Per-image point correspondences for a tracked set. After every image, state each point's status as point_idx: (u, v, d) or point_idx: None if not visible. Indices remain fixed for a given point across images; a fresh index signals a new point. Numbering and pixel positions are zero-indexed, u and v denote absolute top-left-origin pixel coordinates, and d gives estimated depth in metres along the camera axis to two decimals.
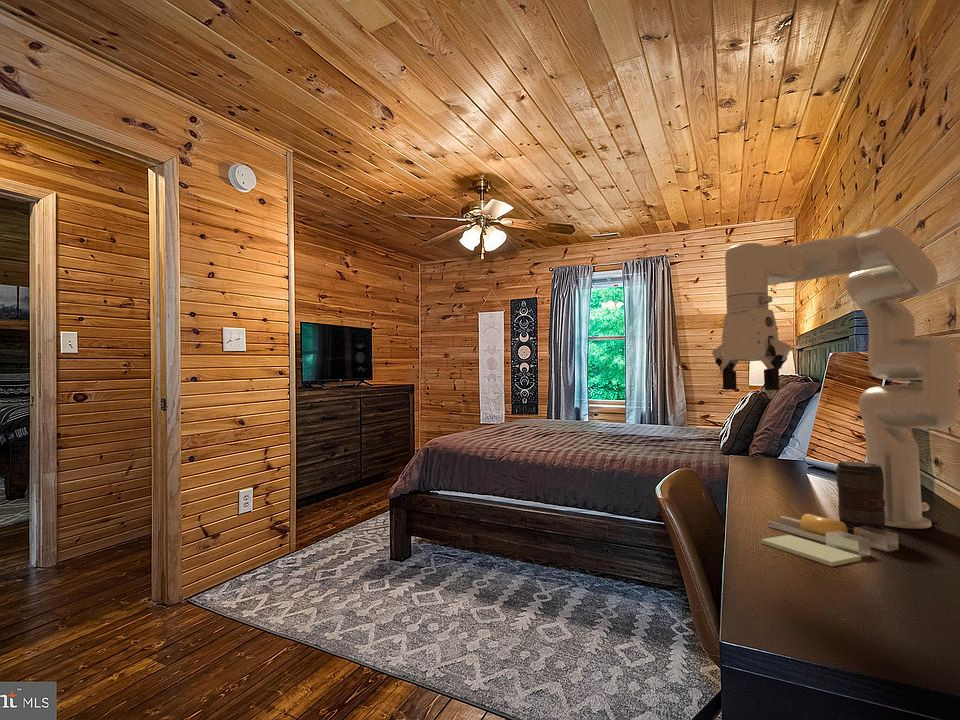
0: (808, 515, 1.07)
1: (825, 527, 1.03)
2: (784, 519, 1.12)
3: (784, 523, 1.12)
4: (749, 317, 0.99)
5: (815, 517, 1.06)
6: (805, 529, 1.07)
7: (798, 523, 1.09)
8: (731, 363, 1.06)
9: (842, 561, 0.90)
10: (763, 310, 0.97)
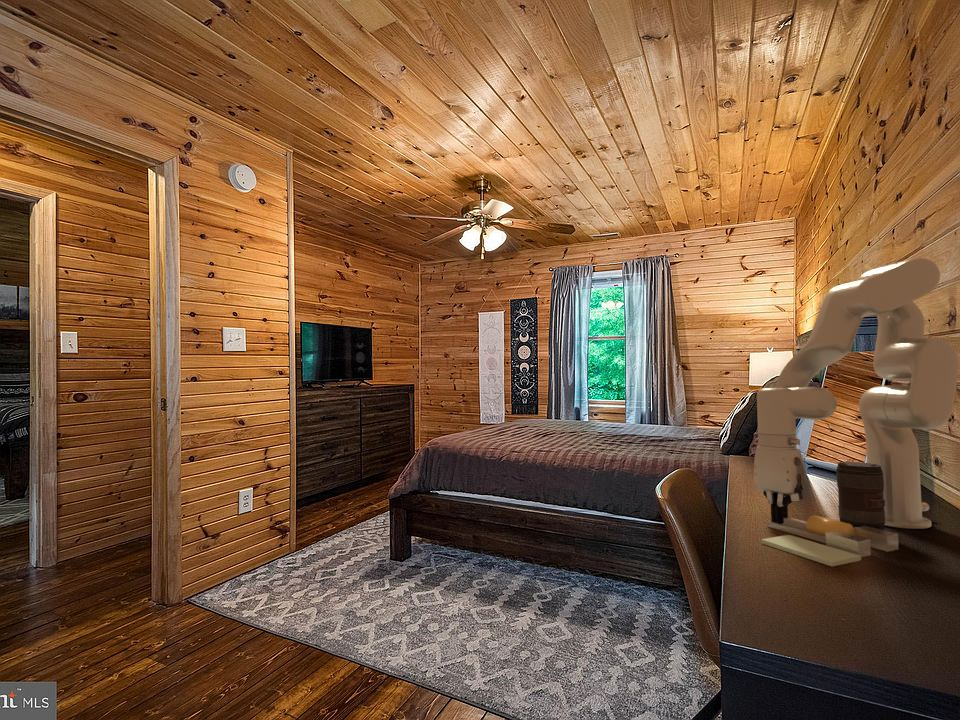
0: (814, 517, 1.06)
1: (832, 528, 1.01)
2: (789, 521, 1.11)
3: (789, 525, 1.11)
4: (779, 456, 1.12)
5: (821, 519, 1.05)
6: (811, 531, 1.05)
7: (804, 525, 1.08)
8: (775, 495, 1.16)
9: (842, 561, 0.90)
10: (792, 451, 1.10)
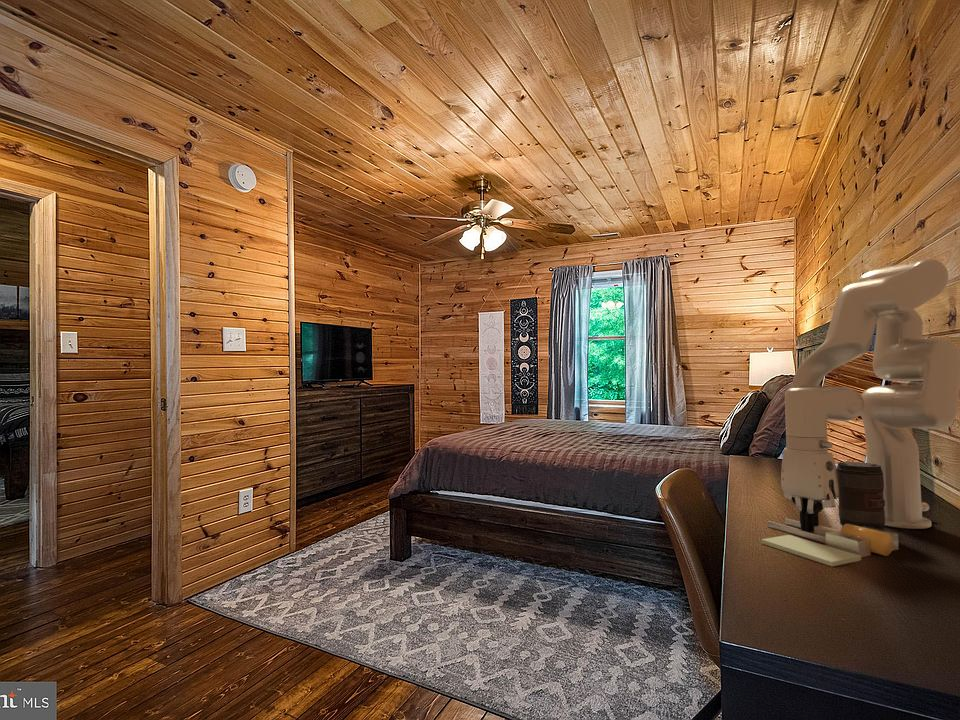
0: (848, 525, 1.00)
1: (869, 538, 0.95)
2: (821, 529, 1.04)
3: (821, 533, 1.04)
4: (810, 459, 1.05)
5: (857, 527, 0.98)
6: None
7: None
8: (804, 502, 1.09)
9: (842, 561, 0.90)
10: (824, 455, 1.04)
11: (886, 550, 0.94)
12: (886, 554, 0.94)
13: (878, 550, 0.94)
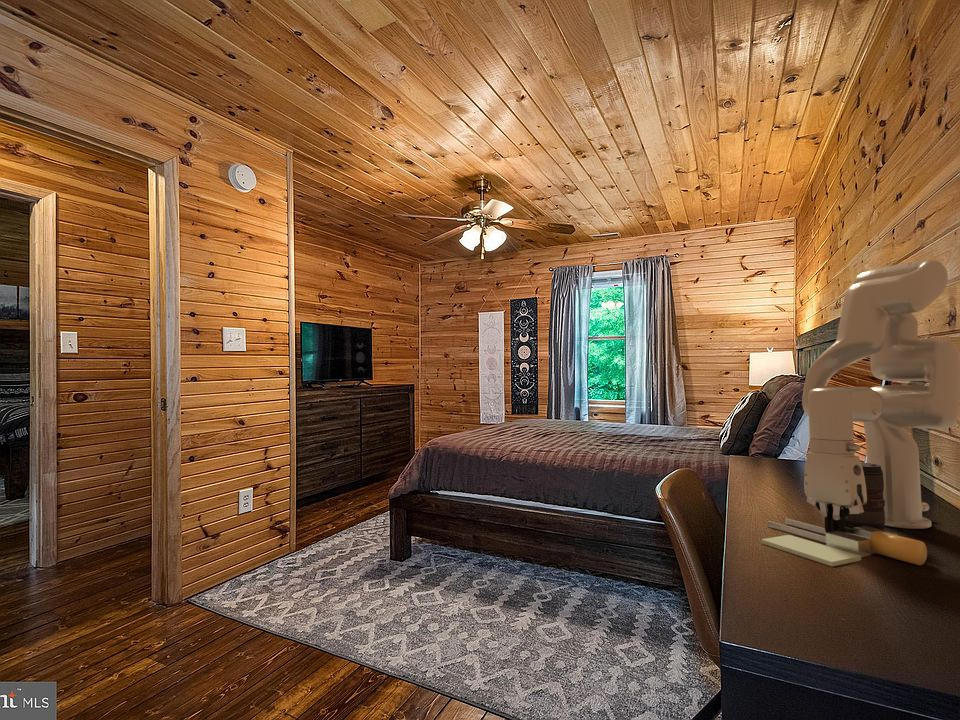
0: (878, 532, 0.95)
1: (902, 547, 0.90)
2: None
3: None
4: (836, 463, 1.00)
5: (888, 535, 0.93)
6: (876, 549, 0.94)
7: None
8: (829, 507, 1.05)
9: (842, 561, 0.90)
10: (851, 458, 0.99)
11: (920, 559, 0.89)
12: (920, 563, 0.89)
13: (912, 559, 0.89)
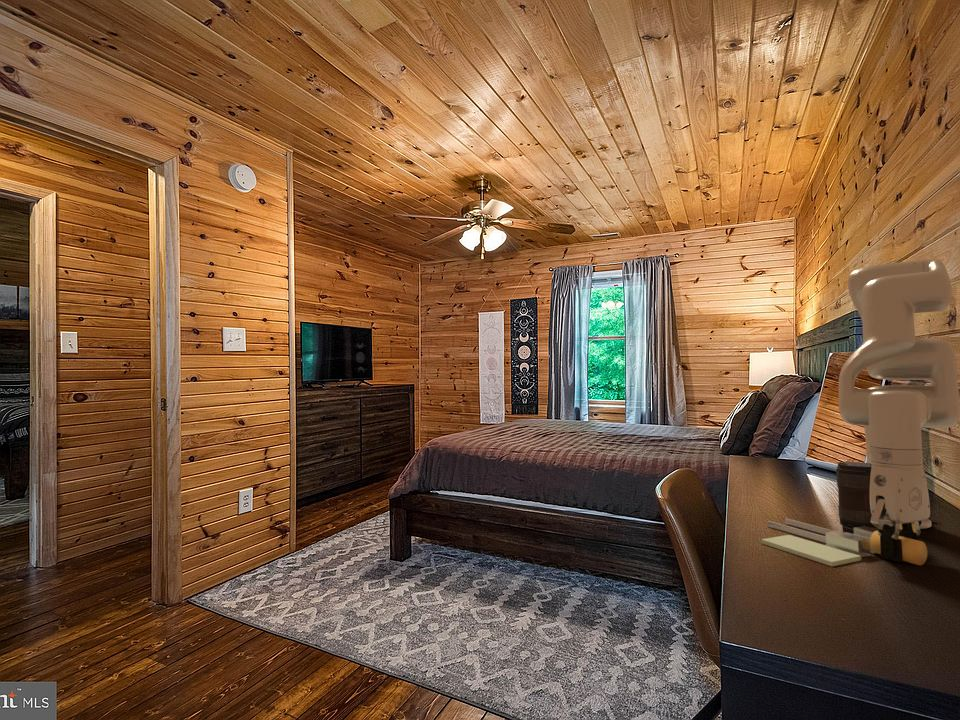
0: None
1: (902, 547, 0.90)
2: None
3: None
4: None
5: None
6: (876, 549, 0.94)
7: None
8: None
9: (842, 561, 0.90)
10: (876, 467, 0.92)
11: (920, 559, 0.89)
12: (920, 564, 0.89)
13: (912, 559, 0.89)
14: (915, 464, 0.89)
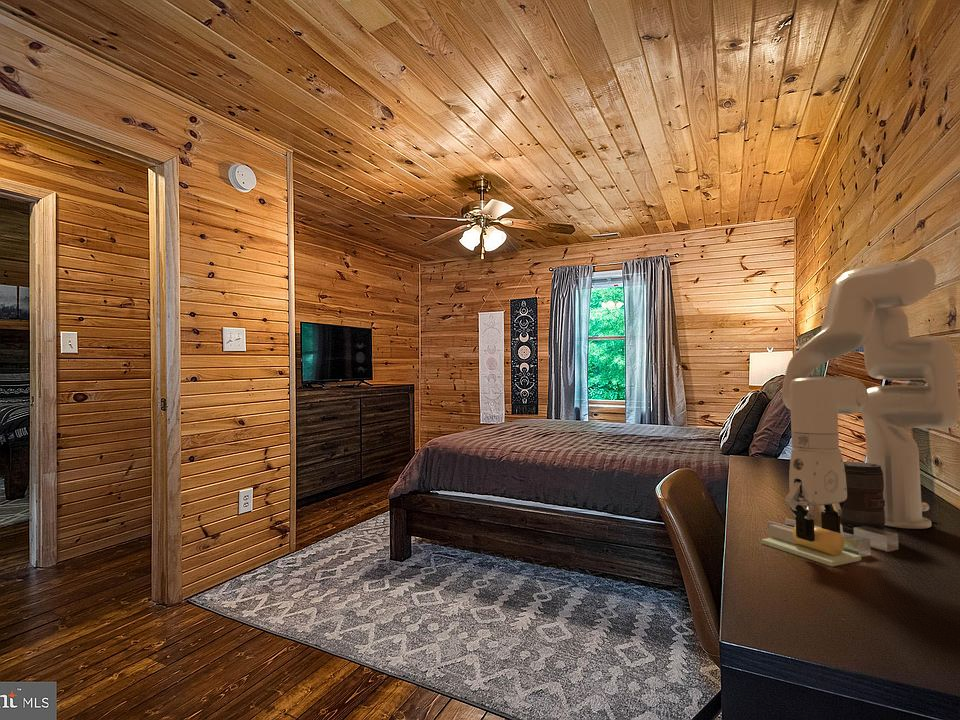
0: None
1: (820, 537, 0.93)
2: (775, 528, 1.02)
3: (775, 532, 1.02)
4: None
5: None
6: (798, 539, 0.97)
7: (790, 532, 0.99)
8: None
9: (842, 561, 0.90)
10: (795, 451, 0.95)
11: (836, 550, 0.92)
12: (836, 554, 0.92)
13: (828, 549, 0.91)
14: (830, 448, 0.92)
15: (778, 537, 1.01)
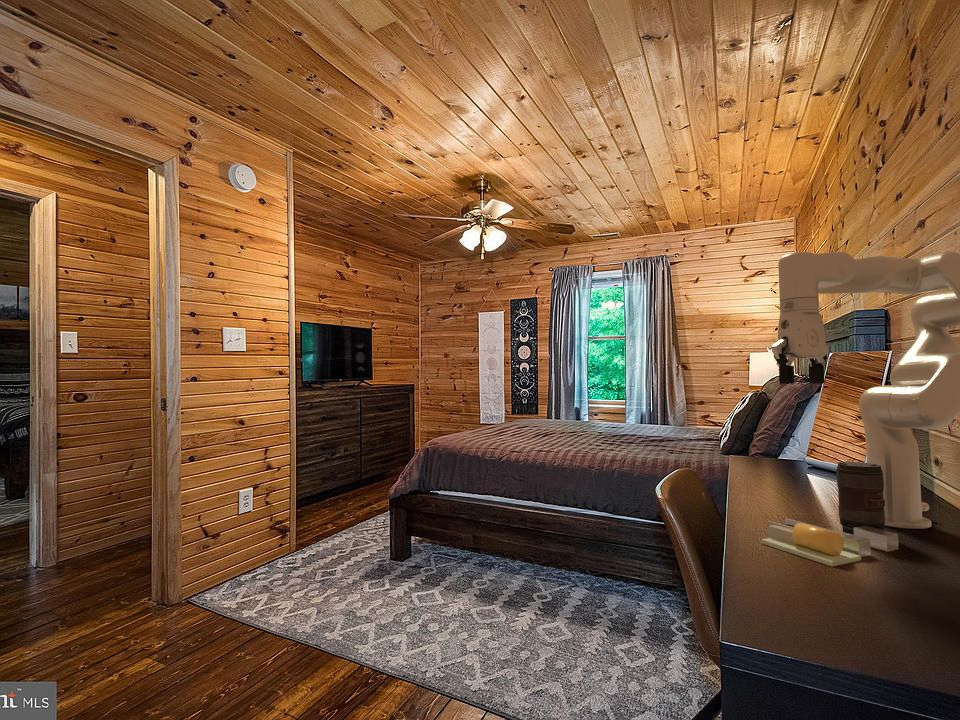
0: (801, 525, 0.97)
1: (819, 538, 0.93)
2: (775, 529, 1.02)
3: (775, 533, 1.02)
4: None
5: (808, 527, 0.96)
6: (797, 540, 0.97)
7: (790, 533, 0.99)
8: None
9: (842, 561, 0.90)
10: (782, 314, 1.13)
11: (836, 550, 0.92)
12: (836, 554, 0.92)
13: (827, 550, 0.91)
14: (812, 308, 1.10)
15: (778, 538, 1.01)
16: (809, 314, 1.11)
